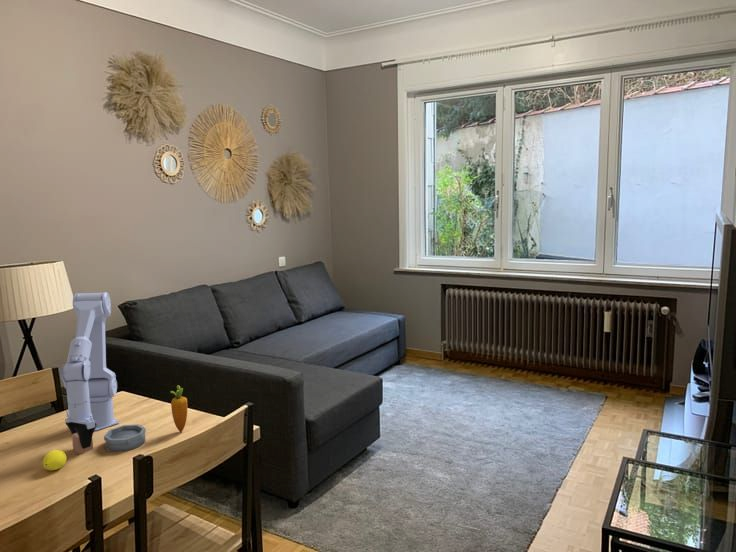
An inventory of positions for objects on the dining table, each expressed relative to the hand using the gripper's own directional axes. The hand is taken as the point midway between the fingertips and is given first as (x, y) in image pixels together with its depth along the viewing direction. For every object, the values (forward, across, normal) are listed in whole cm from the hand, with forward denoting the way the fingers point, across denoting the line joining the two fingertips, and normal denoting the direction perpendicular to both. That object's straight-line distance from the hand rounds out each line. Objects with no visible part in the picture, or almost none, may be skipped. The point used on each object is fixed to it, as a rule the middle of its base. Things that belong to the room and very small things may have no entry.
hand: (82, 445), depth 162 cm
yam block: (+1, 0, 0) cm, 1 cm away
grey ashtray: (+1, +6, +10) cm, 12 cm away
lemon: (+2, +6, -10) cm, 12 cm away
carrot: (+2, +12, +25) cm, 28 cm away
